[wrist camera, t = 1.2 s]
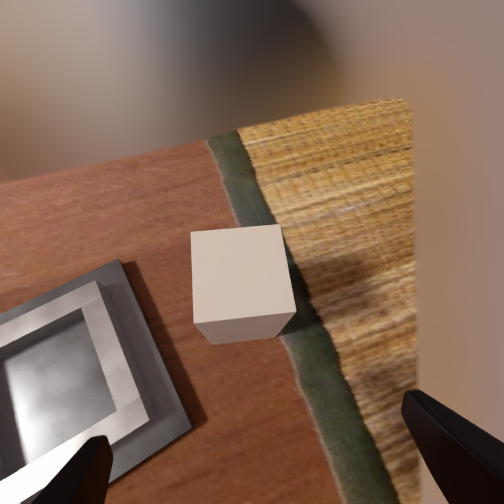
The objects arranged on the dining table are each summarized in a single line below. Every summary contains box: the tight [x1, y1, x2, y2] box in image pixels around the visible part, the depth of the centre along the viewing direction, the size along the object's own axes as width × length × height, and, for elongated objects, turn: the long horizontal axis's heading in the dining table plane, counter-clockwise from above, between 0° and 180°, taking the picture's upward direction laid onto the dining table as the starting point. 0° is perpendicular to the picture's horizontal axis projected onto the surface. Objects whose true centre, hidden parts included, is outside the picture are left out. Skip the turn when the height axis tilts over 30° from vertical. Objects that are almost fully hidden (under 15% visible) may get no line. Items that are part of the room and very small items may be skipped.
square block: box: [191, 224, 296, 345], centre depth 18 cm, size 5×5×9 cm
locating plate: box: [0, 259, 194, 504], centre depth 18 cm, size 14×14×2 cm
